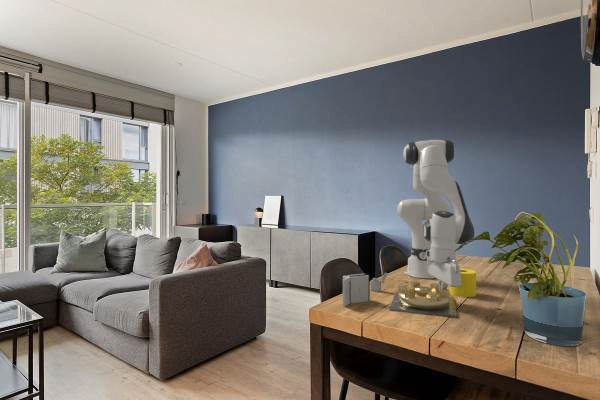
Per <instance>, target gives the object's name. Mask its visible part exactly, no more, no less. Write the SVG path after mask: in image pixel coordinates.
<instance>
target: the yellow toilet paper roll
mask: <svg viewBox="0 0 600 400" xmlns="http://www.w3.org/2000/svg"><path fill="white" fill-rule="evenodd" d="M460 272H461V285H460V287H450V286H449V295H450V294H451V295H453V296H456V297H461V296H463V297H464V298H473V297H476V296H477V271H475V270H473V269H468V268H460ZM463 297H462V298H463Z"/></svg>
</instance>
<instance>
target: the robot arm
mask: <svg viewBox="0 0 600 400" xmlns="http://www.w3.org/2000/svg"><path fill="white" fill-rule="evenodd" d="M455 155H456V147H455V144H454V142H453V141H452V140H449V139H428V140H420V141H411V142H407V143H406V144H405V146H404V148H403V151H402V156H403V159H404V162H405V163H407V165H410V166H413V172H412V188H413V190H414V191H415V192H416V193H418V194H420V195H423V196H424V197H425V198H409V199H408V198H407V199H404V200H400V202H399V203H398V204H397V207H396V208H397V209H396V213H397V215H398V217H399V218H400V219H401V220H402V221H404V222H405V223H406V225H408V228H409V230H410V233H411V249H410V254H411V255H410V256H409V257H408V259H407V270H406V271H404V272H403V274H404V275H405V276H409V277H413V278H416V279H417V278H418V279H436V280H437V284H439V287H440V289H441V288H443V289H448V286H449V288H450V287H460V285H461V272H460V269H461V268H460V266H459V264H458V262H457V245H462V244H463V243H465V242H466V241H468V240H471V239H472V240H474V239H475V229H474V224H473V222H472V219H471V217H470V216H469V212H468V209H467V206H466V203H465V199H464V196H463V192H462V190H461V187H460V185H459V183H458V182H457V181H456V180H454V179H453V178H452V176H451V175H450V173H449V169H448V168H449V167H448V164H449V163H451V162H453V160H454V158H455ZM442 196H444V197H446V198H447V199H448V200H449V201H450V202H451V204H450V203H449V201H447V200H446V199H445V198H444V197H442ZM452 209H453V212H454V213H452ZM423 221H425V222H424V223H423ZM455 250H456V251H455ZM454 251H455V252H454Z"/></svg>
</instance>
